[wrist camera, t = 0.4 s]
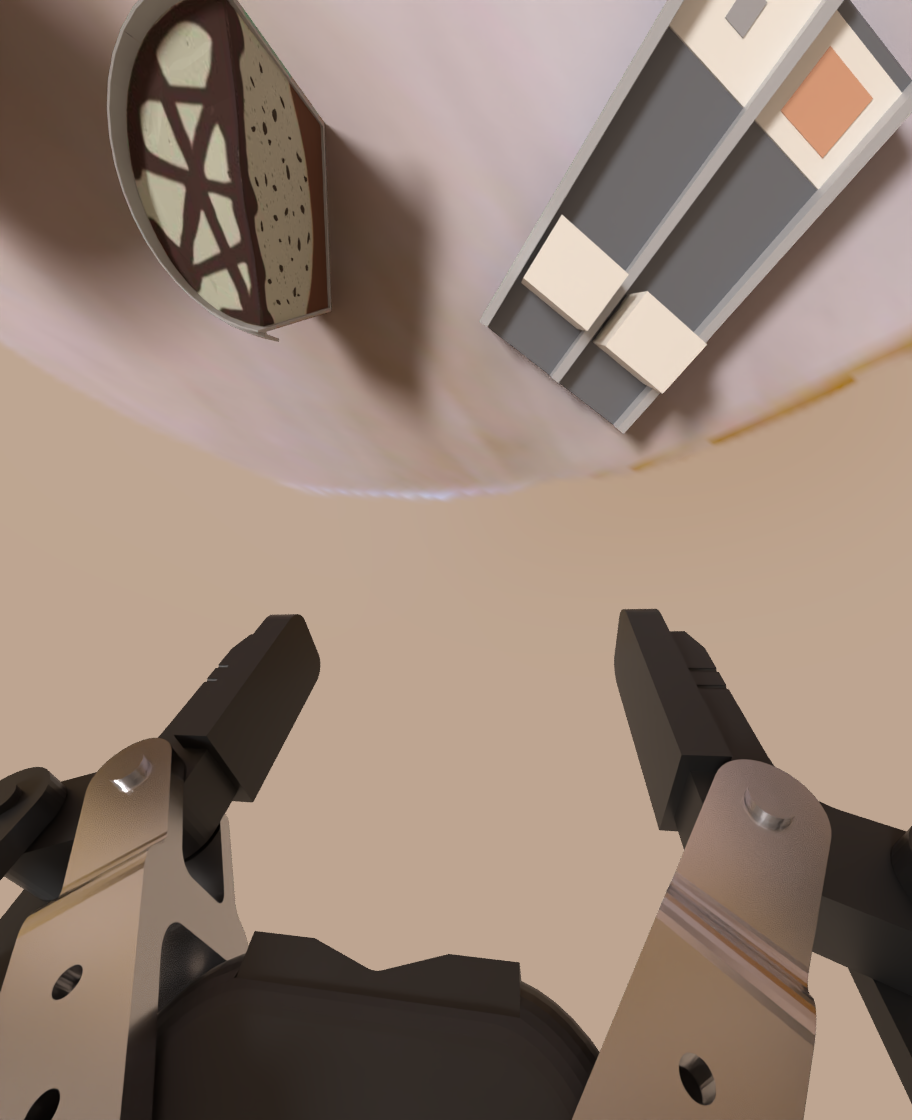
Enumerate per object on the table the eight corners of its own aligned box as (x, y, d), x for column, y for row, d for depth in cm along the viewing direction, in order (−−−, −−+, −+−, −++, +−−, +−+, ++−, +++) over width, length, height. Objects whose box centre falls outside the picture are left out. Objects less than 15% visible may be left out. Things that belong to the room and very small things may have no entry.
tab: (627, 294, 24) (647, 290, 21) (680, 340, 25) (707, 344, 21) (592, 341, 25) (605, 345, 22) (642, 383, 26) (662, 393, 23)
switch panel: (724, -91, 18) (762, -163, 15) (885, 108, 20) (943, 77, 18) (481, 320, 27) (478, 321, 25) (613, 423, 30) (623, 433, 27)
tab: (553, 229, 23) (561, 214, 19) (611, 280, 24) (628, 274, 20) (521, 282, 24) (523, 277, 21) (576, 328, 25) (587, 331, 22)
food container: (216, 70, 22) (39, -78, 14) (323, 84, 22) (209, -57, 14) (249, 322, 29) (143, 326, 21) (332, 335, 29) (259, 344, 20)
